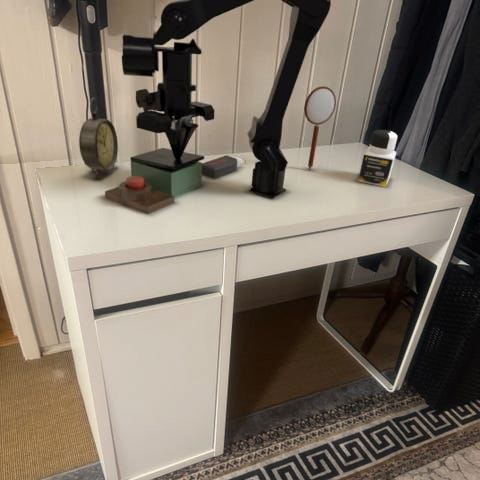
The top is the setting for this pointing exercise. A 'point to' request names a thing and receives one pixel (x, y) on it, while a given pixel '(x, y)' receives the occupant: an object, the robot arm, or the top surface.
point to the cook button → (135, 182)
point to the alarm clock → (98, 143)
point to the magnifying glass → (318, 112)
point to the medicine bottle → (379, 158)
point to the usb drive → (220, 166)
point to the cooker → (169, 177)
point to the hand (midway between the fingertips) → (177, 158)
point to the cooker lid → (166, 159)
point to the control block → (140, 197)
